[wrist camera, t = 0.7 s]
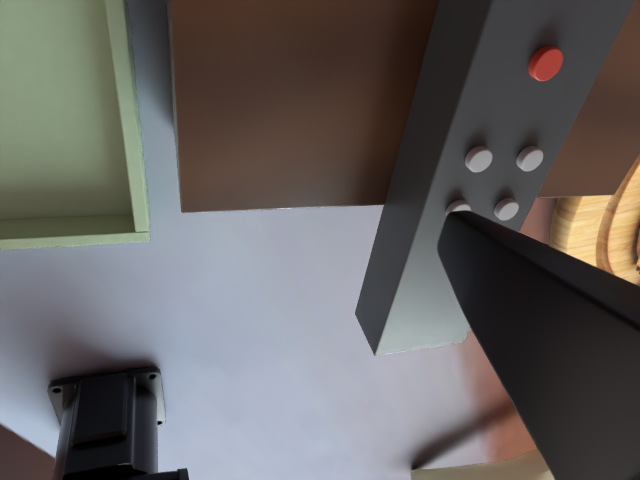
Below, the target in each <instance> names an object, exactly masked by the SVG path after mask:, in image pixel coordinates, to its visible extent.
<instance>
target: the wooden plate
mask: <svg viewBox="0 0 640 480" xmlns="http://www.w3.org/2000/svg"><path fill="white" fill-rule="evenodd" d="M549 246H550V247H553V248H555V249H557V250H559V251H562V252H564V253H566V254H568V255H571V256H573V257H575V258H577V259H580V260H582V261H584V262H586V263H589V264H591V265H593V266H595V267H598V268H600V269H602V270H604V271H607V272H609V273H611V274H613V275H616V276H618V277H620V278H622V279H625V280H627V281H629V282H631V283H634V284H636V285H638V286H640V154H639V156H638V158H637V159H636V161H635V162H634V164H633V166H632V167H631V169H630V170H629V172H628V174H627V175H626V177H625V178H624V180H623V182H622V183H621V185H620V186H619V188H618V190H617V191H616V193H615V194H614V195H604V196H580V197H558V199H557V202H556V206H555V210H554V214H553V218H552V222H551V230H550V237H549Z"/></svg>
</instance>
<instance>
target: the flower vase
mask: <svg viewBox="0 0 640 480" xmlns="http://www.w3.org/2000/svg"><path fill="white" fill-rule="evenodd" d="M411 479H412V480H555V479H554V477H553V475H552V474H551V472H550V470H549V468H548V466H547V465H546V463H545V461H544V459H543V457H542V456H541V454H540V452H539V450H538V449H535V450H533V451H530V452H527V453H525V454H522V455H520V456H517V457H514V458H512V459H509V460H504V461H498V462H489V463H481V464H472V465H464V466H455V467H446V468H436V469H419V470H411Z"/></svg>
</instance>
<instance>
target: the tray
mask: <svg viewBox="0 0 640 480" xmlns="http://www.w3.org/2000/svg"><path fill="white" fill-rule="evenodd" d="M149 241H150V212H149V202H148V193H147V183H146V173H145V164H144V154H143V145H142V135H141V125H140V116H139V106H138V97H137V87H136V78H135V68H134V58H133V49H132V39H131V30H130V20H129V11H128V1H127V0H0V250H14V249H31V248H48V247H65V246H82V245H98V244H115V243H132V242H149Z"/></svg>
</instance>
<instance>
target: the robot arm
mask: <svg viewBox="0 0 640 480" xmlns="http://www.w3.org/2000/svg"><path fill="white" fill-rule="evenodd" d="M437 252H438V256H439V258H440V261H441V263H442V265H443V268H444V270H445V272H446V275H447V277H448V279H449V282H450V284H451V287H452V289H453V291H454V294H455V296H456V298H457V301H458V303H459V305H460V308H461V310H462V312H463V314H464V316H465V318H466V320H467V322H468V324H469V325H470V327H471V329H472V331H473V333H474V335H475V336H476V338H477V340H478V342H479V344H480V345H481V347H482V349H483V351H484V353H485V354H486V356H487V358H488V360H489V362H490V363H491V365H492V367H493V369H494V371H495V372H496V374H497V376H498V378H499V380H500V381H501V383H502V385H503V387H504V389H505V391H506V392H507V394H508V396H509V398H510V400H511V401H512V403H513V405H514V407H515V409H516V410H517V412H518V414H519V416H520V418H521V419H522V421H523V423H524V425H525V427H526V428H527V430H528V432H529V434H530V436H531V437H532V439H533V441H534V443H535V445H536V447H537V448H538V450H539V452H540V454H541V456H542V457H543V459H544V461H545V463H546V465H547V466H548V468H549V470H550V472H551V474H552V475H553V477H554V479H555V480H640V286H638V285H636V284H634V283H631V282H629V281H627V280H625V279H622V278H620V277H618V276H616V275H613V274H611V273H609V272H607V271H604V270H602V269H600V268H598V267H595V266H593V265H591V264H589V263H586V262H584V261H582V260H580V259H577V258H575V257H573V256H571V255H568V254H566V253H564V252H562V251H559V250H557V249H555V248H553V247H550V246H548V245H546V244H544V243H541V242H539V241H537V240H535V239H532V238H530V237H528V236H526V235H523V234H521V233H519V232H517V231H514V230H512V229H510V228H508V227H505V226H503V225H501V224H499V223H496V222H494V221H492V220H490V219H487V218H485V217H483V216H481V215H478V214H476V213H474V212H472V211H469V210H462V211H452V212H450V213H449V214H448V215H447V216H446V218H445V221H444V224H443V227H442V230H441V233H440V236H439V239H438V242H437ZM48 394H49V397H50V400H51V402H52V405H53V408H54V410H55V413H56V416H57V418H58V421H59V424H60V426H61V428H60V434H59V440H58V446H57V452H56V458H55V464H54V471H53V477H52V480H189V477H188V471H187V468H185V469H178V470H177V471H170V472H160V473H158V439H157V427H160V426H163V425H164V424H165V423H166V415H165V407H164V398H163V389H162V381H161V372H160V369H159V368H157V367H147V368H140V369H133V370H126V371H119V372H112V373H104V374H97V375H90V376H83V377H76V378H69V379H61V380H55V381H52V382H50V383H49V386H48Z"/></svg>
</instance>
